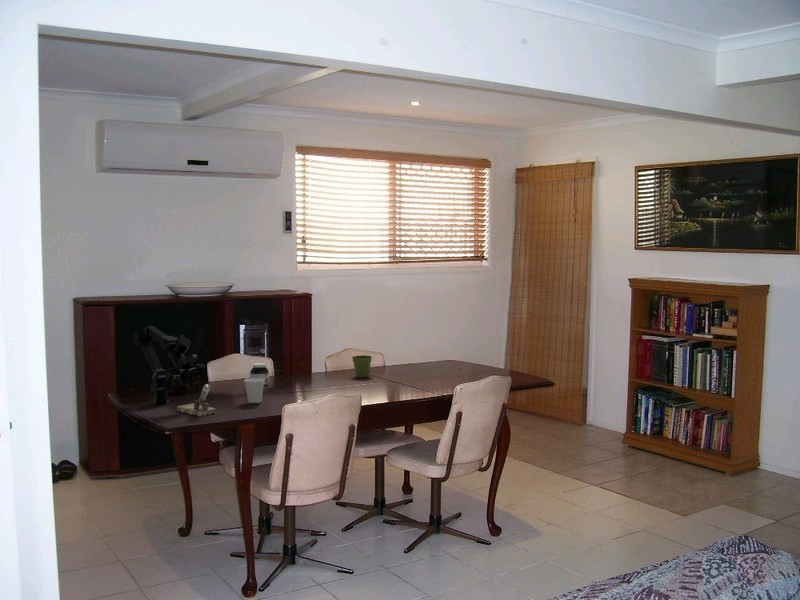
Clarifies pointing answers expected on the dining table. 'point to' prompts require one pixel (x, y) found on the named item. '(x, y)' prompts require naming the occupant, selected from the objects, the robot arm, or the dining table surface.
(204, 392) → the lever
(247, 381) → the cup
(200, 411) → the nutcracker board
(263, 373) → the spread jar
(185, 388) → the yellow black cube
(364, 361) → the plant pot
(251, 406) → the dining table surface
